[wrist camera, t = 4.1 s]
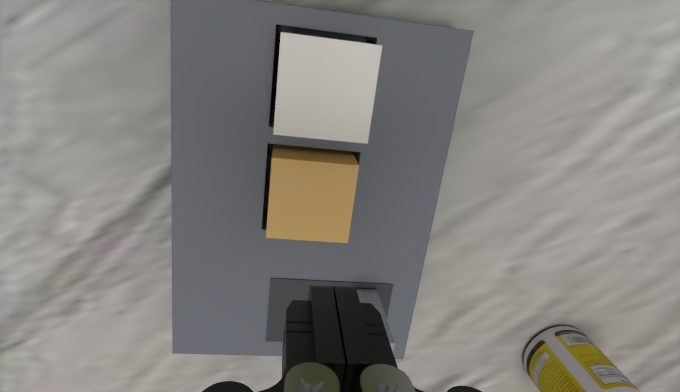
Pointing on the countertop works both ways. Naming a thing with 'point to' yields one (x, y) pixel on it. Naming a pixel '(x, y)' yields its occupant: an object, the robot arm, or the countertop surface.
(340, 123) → the ivory button
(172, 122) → the panel
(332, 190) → the amber button
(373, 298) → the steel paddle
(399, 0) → the countertop surface
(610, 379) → the supplement bottle
